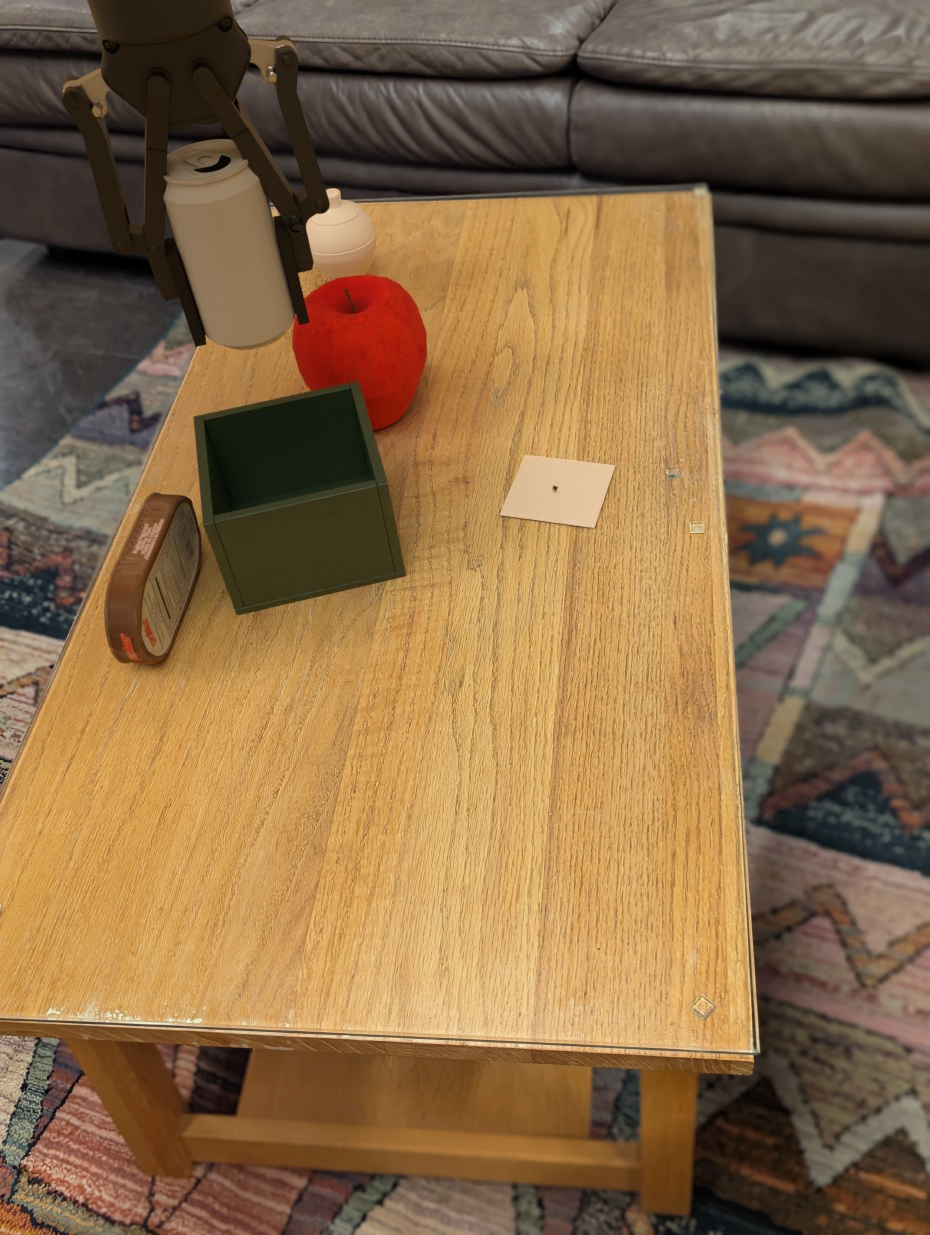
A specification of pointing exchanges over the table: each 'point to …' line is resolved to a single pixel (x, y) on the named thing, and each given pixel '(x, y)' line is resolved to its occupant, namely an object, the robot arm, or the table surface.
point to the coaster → (558, 491)
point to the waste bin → (296, 498)
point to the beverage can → (228, 245)
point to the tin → (153, 579)
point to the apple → (363, 343)
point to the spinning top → (341, 238)
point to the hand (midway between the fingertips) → (251, 324)
